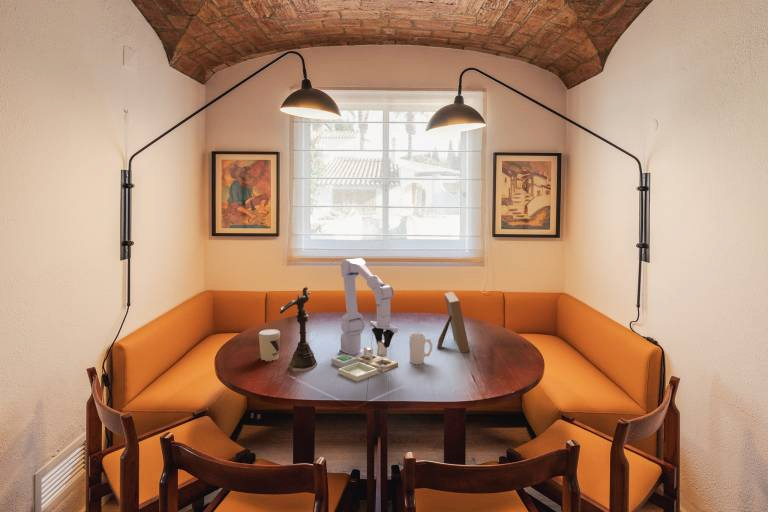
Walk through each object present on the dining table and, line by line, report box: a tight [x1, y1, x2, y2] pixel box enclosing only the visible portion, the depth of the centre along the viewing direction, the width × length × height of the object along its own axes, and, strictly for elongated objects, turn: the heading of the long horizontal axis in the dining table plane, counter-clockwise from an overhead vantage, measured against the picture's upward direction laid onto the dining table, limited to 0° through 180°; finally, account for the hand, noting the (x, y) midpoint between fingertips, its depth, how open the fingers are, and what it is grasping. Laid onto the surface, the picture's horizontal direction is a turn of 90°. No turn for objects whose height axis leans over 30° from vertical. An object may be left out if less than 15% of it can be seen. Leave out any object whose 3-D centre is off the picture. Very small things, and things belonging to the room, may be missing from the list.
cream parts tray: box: [354, 353, 399, 373], centre depth 177 cm, size 18×9×2 cm, turn 46°
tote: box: [338, 362, 379, 382], centre depth 166 cm, size 11×11×2 cm
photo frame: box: [436, 291, 470, 354], centre depth 203 cm, size 15×22×25 cm
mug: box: [409, 332, 433, 365], centre depth 180 cm, size 10×7×12 cm, turn 82°
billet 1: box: [363, 346, 374, 360], centre depth 180 cm, size 4×4×6 cm
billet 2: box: [376, 339, 388, 358], centre depth 173 cm, size 4×4×6 cm
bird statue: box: [279, 286, 318, 373], centre depth 171 cm, size 17×13×35 cm
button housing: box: [331, 353, 357, 368], centre depth 176 cm, size 8×8×3 cm
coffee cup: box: [258, 328, 281, 362], centre depth 183 cm, size 9×9×12 cm
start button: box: [339, 355, 350, 361], centre depth 176 cm, size 4×4×3 cm
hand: (383, 345), depth 173 cm, fingers closed on billet 2, 4 cm apart
